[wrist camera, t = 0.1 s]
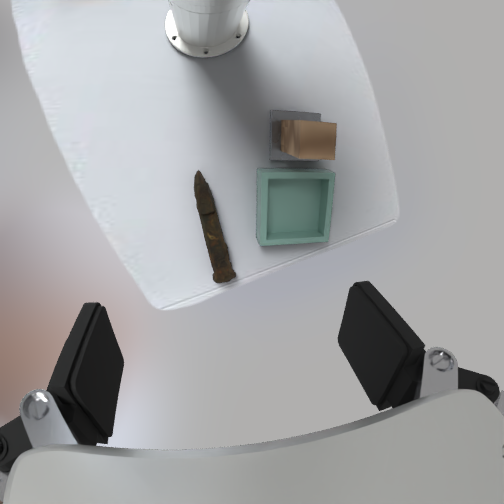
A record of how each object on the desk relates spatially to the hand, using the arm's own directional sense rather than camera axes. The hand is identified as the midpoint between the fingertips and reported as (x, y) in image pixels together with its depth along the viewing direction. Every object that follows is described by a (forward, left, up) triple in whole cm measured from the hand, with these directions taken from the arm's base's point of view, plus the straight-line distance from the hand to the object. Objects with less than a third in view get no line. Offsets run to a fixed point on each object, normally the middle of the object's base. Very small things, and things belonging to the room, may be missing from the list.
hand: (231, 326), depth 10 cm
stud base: (-5, +14, -37) cm, 39 cm away
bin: (+7, +14, -37) cm, 40 cm away
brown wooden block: (-5, +14, -36) cm, 39 cm away
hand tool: (+10, 0, -37) cm, 38 cm away
